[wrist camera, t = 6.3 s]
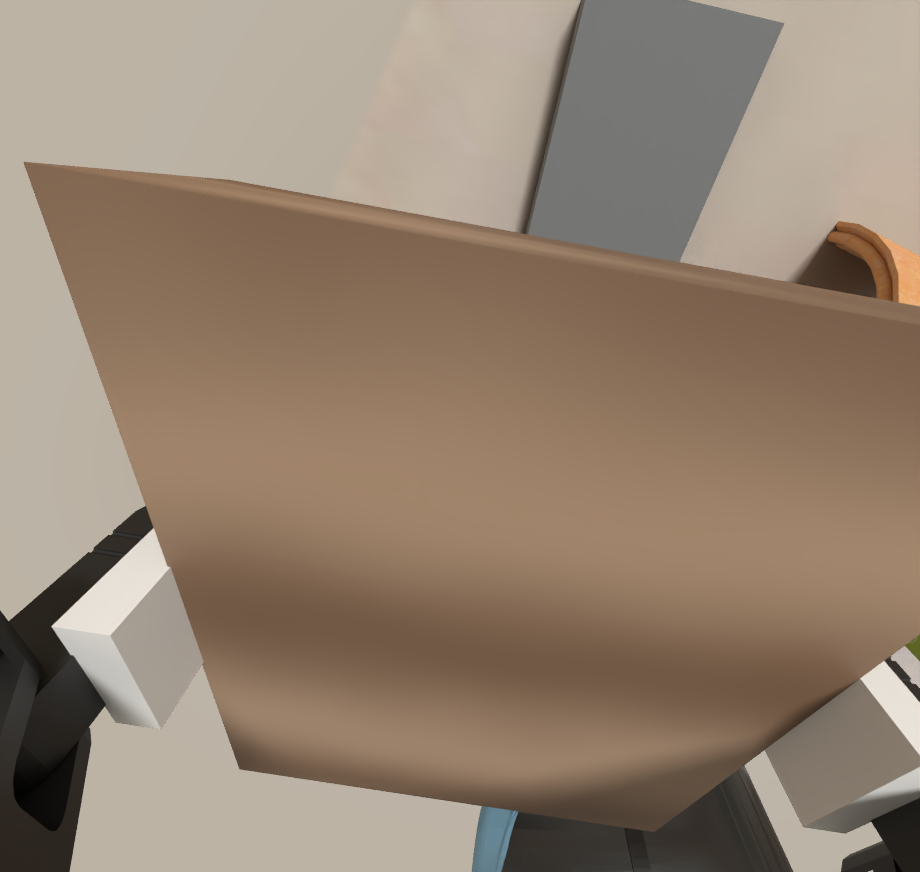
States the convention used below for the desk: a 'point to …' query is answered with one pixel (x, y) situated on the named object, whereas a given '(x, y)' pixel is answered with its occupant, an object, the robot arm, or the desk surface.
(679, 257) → the block
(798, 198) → the desk surface
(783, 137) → the desk surface
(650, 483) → the cover board
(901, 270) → the arch
